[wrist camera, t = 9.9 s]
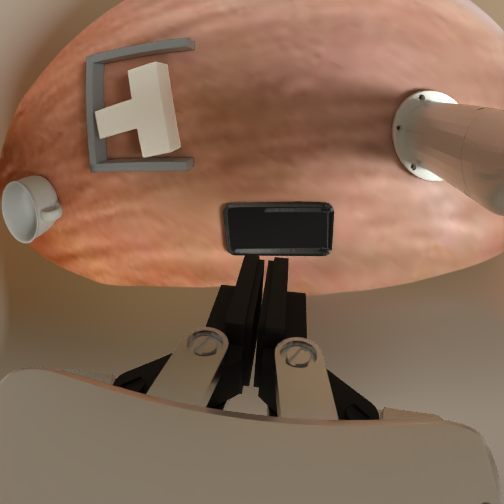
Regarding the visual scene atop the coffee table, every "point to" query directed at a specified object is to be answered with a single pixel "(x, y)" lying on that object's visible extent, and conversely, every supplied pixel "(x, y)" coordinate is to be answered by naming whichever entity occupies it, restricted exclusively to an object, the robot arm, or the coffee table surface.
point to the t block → (145, 111)
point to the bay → (97, 103)
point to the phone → (279, 228)
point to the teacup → (30, 207)
